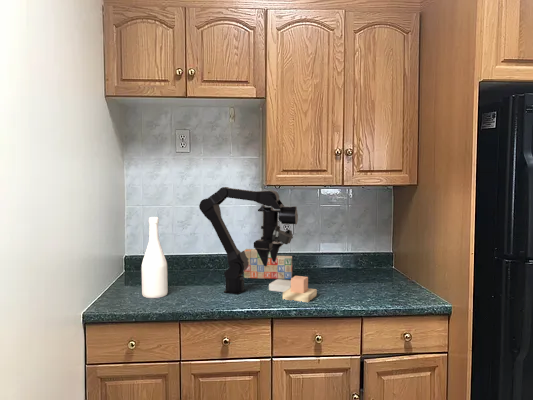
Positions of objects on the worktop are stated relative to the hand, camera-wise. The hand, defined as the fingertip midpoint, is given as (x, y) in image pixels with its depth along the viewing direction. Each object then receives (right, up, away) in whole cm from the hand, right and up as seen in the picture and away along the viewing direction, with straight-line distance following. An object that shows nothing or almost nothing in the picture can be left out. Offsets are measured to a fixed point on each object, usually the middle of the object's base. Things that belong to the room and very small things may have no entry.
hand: (269, 263), depth 176 cm
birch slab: (+11, -13, -4) cm, 17 cm away
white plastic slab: (+6, -12, +9) cm, 16 cm away
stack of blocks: (0, -10, +29) cm, 31 cm away
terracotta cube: (+11, -10, -4) cm, 15 cm away
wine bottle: (-44, -12, -1) cm, 46 cm away
